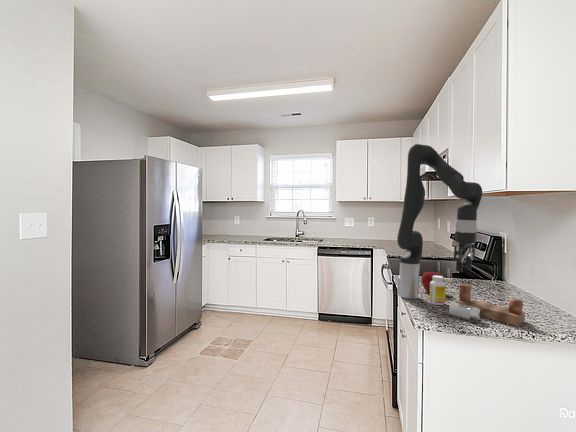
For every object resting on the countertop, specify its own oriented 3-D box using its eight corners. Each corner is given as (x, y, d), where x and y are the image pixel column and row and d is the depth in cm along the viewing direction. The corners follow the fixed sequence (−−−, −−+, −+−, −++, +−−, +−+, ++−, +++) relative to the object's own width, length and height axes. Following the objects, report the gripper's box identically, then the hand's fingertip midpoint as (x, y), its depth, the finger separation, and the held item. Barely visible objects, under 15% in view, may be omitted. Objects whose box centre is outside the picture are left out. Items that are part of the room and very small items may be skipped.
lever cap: (449, 313, 132) (449, 304, 132) (454, 311, 135) (455, 302, 135) (476, 321, 124) (476, 311, 124) (481, 318, 127) (482, 309, 127)
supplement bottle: (448, 304, 147) (449, 277, 147) (439, 306, 144) (440, 278, 143) (435, 300, 153) (436, 274, 152) (426, 302, 150) (427, 275, 149)
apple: (439, 290, 172) (439, 269, 172) (446, 295, 162) (447, 273, 161) (418, 289, 173) (418, 268, 173) (424, 294, 163) (425, 272, 162)
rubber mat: (443, 314, 133) (443, 313, 133) (450, 311, 138) (450, 309, 137) (474, 323, 124) (474, 321, 124) (481, 319, 128) (481, 317, 128)
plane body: (455, 310, 139) (456, 285, 139) (463, 306, 145) (464, 282, 144) (517, 326, 121) (519, 298, 120) (525, 321, 127) (526, 294, 126)
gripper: (463, 229, 137) (461, 266, 137) (448, 230, 128) (446, 270, 128) (482, 231, 131) (480, 269, 131) (468, 232, 122) (465, 274, 123)
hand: (463, 270), depth 130 cm, fingers open, 8 cm apart
